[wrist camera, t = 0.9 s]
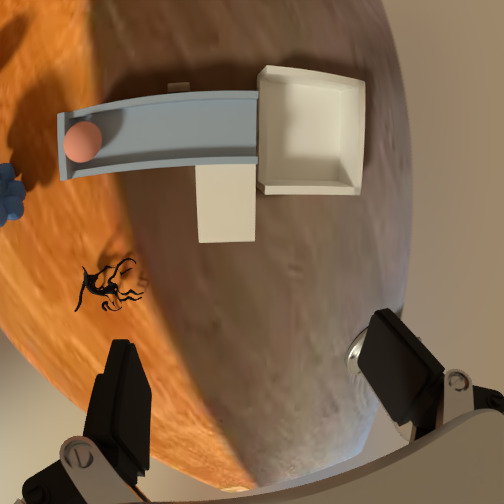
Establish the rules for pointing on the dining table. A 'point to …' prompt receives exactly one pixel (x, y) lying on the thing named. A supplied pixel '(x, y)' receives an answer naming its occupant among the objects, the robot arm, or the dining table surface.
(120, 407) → the robot arm
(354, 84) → the tray
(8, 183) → the grapes
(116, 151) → the lever
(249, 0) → the dining table surface
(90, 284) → the creature
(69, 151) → the ball
